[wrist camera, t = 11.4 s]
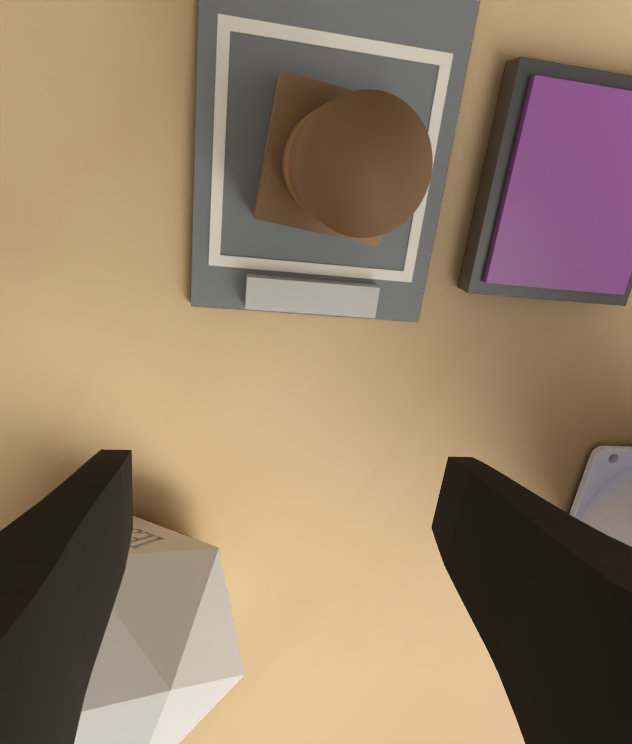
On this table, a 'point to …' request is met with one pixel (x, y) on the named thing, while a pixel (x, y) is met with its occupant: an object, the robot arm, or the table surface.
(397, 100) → the stamp
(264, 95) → the grey framed plate
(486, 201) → the ink pad
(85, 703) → the die
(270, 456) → the table surface
